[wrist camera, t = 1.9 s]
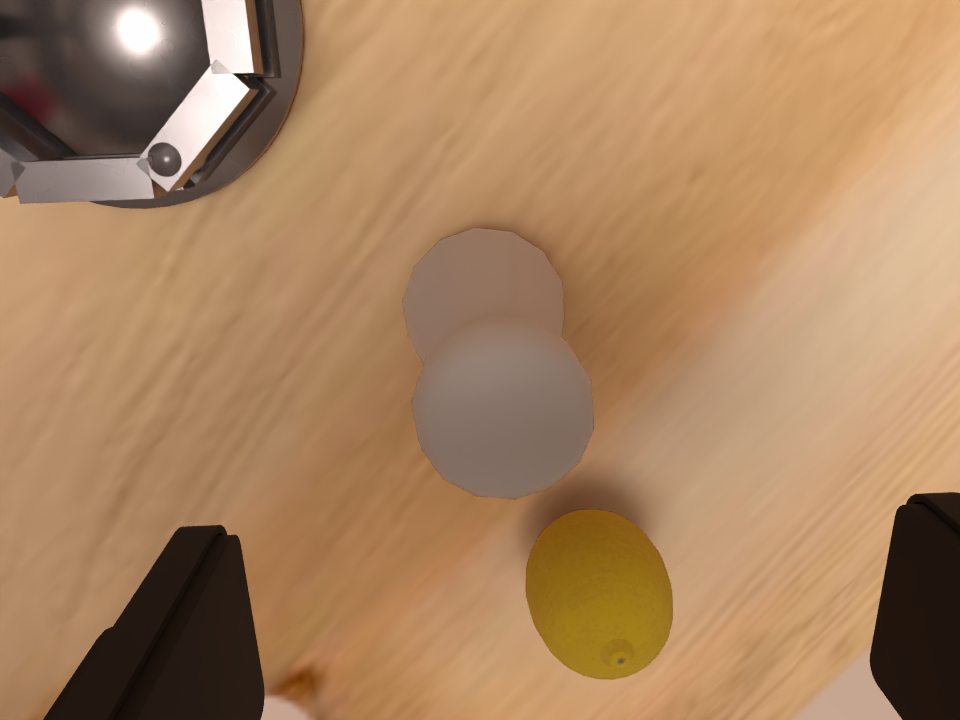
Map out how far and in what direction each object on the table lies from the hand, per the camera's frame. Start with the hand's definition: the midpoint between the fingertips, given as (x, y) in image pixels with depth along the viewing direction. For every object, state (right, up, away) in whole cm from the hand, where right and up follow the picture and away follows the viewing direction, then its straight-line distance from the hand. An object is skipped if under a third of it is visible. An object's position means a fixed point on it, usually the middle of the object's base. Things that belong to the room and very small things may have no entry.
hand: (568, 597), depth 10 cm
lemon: (+3, -4, +22) cm, 23 cm away
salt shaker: (-1, +6, +18) cm, 19 cm away
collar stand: (-14, +15, +14) cm, 25 cm away
